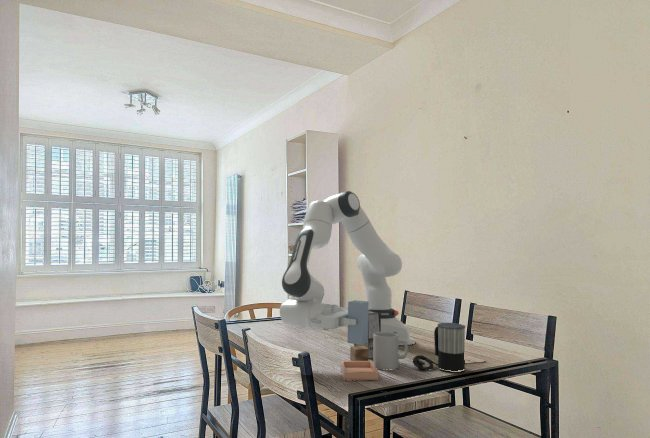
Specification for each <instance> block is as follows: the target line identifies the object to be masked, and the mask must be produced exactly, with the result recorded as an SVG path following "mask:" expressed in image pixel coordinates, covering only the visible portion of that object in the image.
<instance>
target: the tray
mask: <svg viewBox="0 0 650 438" xmlns="http://www.w3.org/2000/svg"><path fill="white" fill-rule="evenodd" d="M340 372H341V376H342V381H344V380H347V381H346V382H356V381H355V380H358V381H357V382H360V381H359V380H378V381H379V370H378V369H376V367H375V365H374V364H373V360H368V361H351V360H340ZM352 380H353V381H352Z"/></svg>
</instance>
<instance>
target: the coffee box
mask: <svg viewBox="0 0 650 438" xmlns="http://www.w3.org/2000/svg"><path fill="white" fill-rule="evenodd" d="M378 332H381V313H376V312H371V311H368V342H367V343H365V344H363V345H359V344H353V346H365V347H366V348H368V359H373V335H374V333H378Z"/></svg>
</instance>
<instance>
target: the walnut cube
mask: <svg viewBox="0 0 650 438" xmlns="http://www.w3.org/2000/svg"><path fill="white" fill-rule="evenodd" d="M349 348H350V349H349V351H350V355H349V356H350V357H349V359H350V360H349V361H369V358H368V348H366V347H365V346H354V345H352V346H350V347H349Z"/></svg>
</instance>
